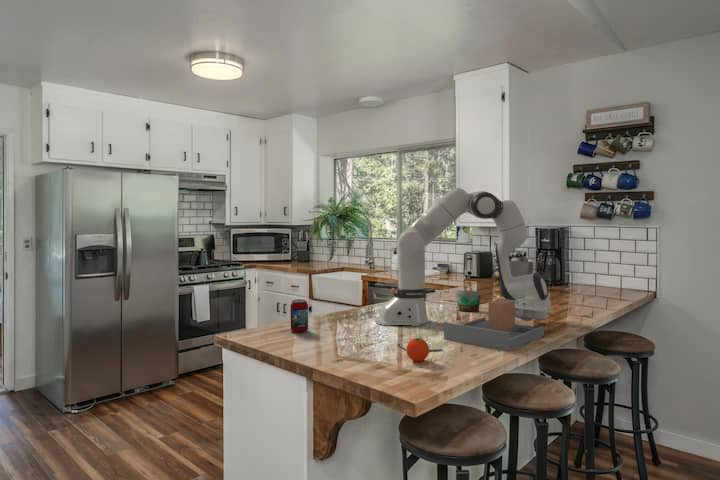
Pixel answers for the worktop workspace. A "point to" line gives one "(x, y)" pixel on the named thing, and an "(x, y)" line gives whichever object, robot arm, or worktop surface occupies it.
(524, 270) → the flask
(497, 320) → the block
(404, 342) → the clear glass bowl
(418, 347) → the red tomato
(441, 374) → the worktop surface
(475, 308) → the potted plant
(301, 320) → the beverage can
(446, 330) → the tray
